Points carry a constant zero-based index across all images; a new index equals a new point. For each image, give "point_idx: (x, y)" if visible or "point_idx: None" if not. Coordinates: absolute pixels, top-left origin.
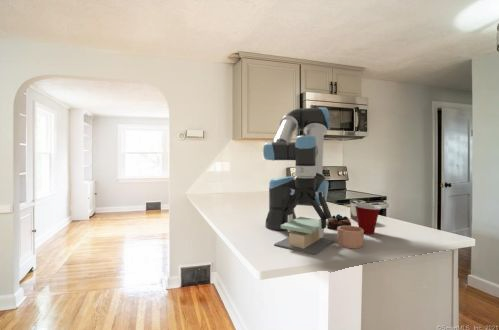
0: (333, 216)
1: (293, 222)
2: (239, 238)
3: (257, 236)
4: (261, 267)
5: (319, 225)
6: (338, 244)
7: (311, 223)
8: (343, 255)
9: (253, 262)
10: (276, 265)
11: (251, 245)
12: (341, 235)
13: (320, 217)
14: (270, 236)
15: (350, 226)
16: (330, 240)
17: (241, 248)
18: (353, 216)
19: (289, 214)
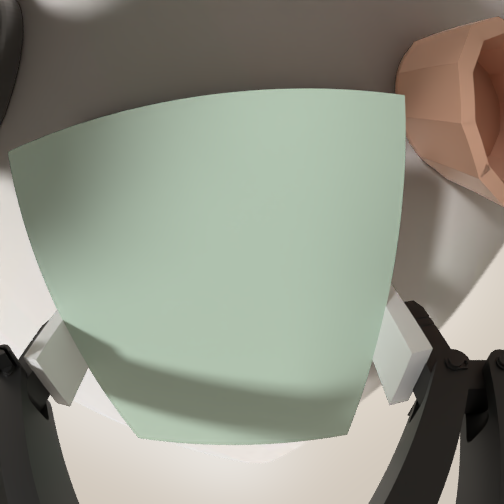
0: None
1: (131, 379)
2: (22, 352)
3: (17, 301)
4: (256, 460)
5: (379, 363)
6: (411, 144)
7: (277, 333)
8: (449, 287)
9: (221, 455)
10: (278, 447)
11: (100, 390)
12: (471, 186)
13: (411, 419)
14: (33, 267)
15: (502, 32)
16: None
17: (112, 416)
18: None
19: (40, 382)
